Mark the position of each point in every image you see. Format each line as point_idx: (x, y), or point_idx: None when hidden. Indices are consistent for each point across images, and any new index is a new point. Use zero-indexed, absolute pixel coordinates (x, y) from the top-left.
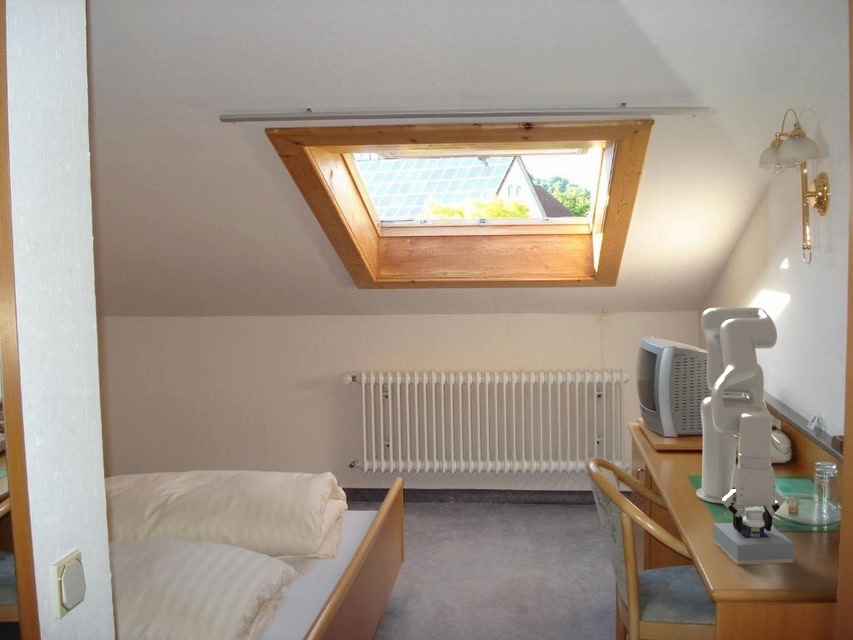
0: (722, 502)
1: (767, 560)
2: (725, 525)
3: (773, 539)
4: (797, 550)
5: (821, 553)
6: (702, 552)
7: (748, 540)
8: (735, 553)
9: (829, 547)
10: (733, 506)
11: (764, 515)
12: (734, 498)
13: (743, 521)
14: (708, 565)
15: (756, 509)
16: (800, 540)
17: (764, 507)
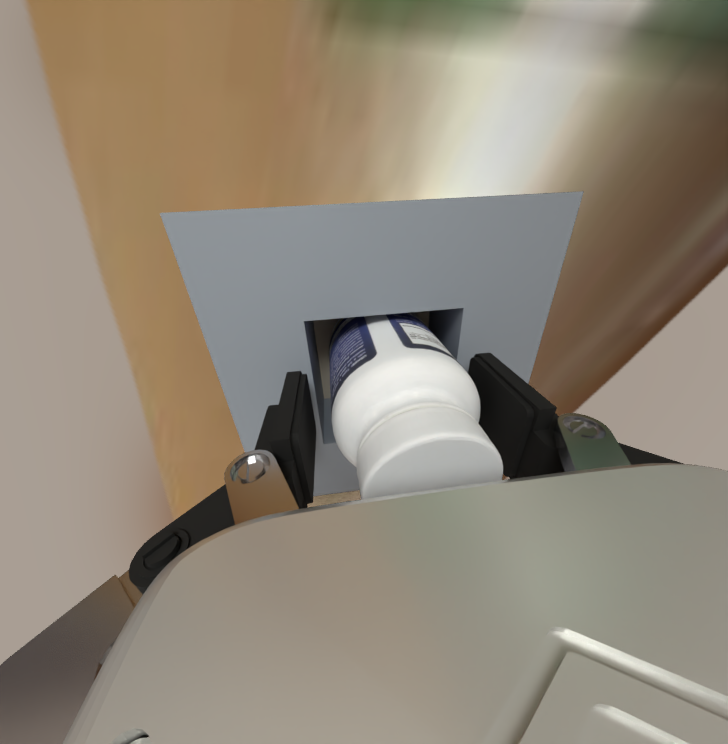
0: (24, 665)
1: None
2: (256, 263)
3: None
4: (554, 323)
5: (611, 348)
6: (151, 347)
7: (327, 463)
8: None
9: (690, 295)
10: (234, 518)
11: (514, 427)
12: (241, 547)
13: (335, 437)
14: (172, 449)
15: (479, 464)
16: (658, 211)
17: (566, 470)
